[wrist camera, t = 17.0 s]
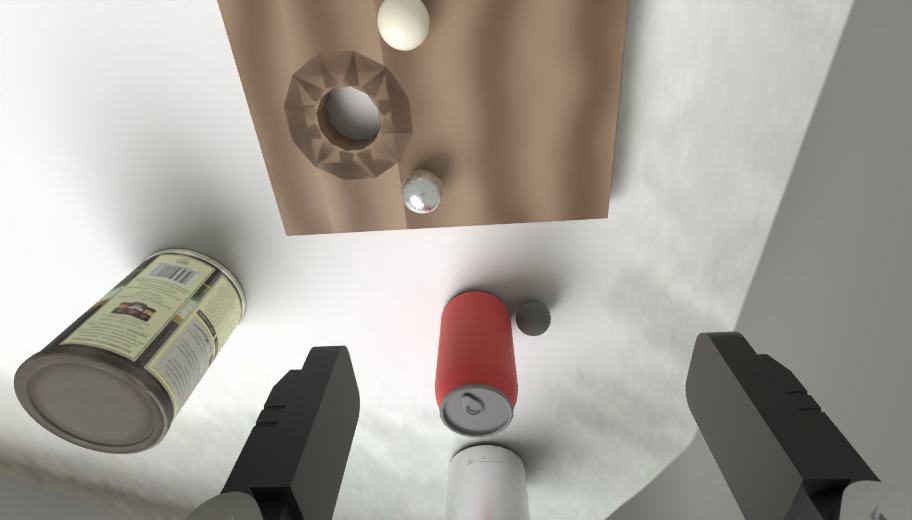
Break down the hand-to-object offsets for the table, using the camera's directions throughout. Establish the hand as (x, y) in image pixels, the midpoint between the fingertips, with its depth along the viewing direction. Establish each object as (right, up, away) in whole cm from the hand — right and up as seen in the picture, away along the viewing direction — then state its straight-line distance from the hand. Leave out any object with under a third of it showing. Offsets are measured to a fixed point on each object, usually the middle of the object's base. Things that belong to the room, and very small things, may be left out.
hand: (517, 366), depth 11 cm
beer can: (0, -3, +35) cm, 35 cm away
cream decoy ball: (-5, +17, +18) cm, 25 cm away
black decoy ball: (+6, -3, +32) cm, 33 cm away
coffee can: (-27, -1, +34) cm, 44 cm away
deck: (-3, +14, +24) cm, 28 cm away
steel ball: (-4, +8, +24) cm, 25 cm away
